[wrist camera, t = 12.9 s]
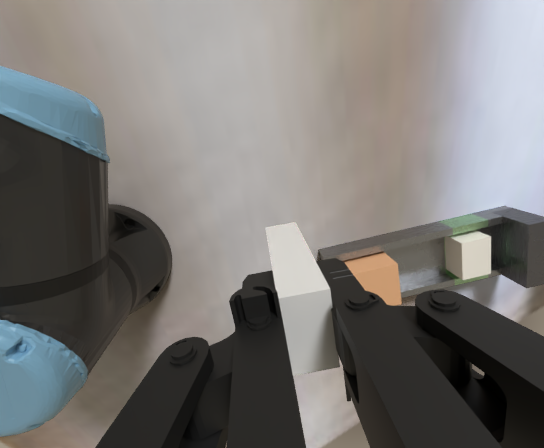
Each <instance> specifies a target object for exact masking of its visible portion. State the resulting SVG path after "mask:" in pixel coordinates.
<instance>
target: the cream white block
mask: <svg viewBox="0 0 544 448" xmlns="http://www.w3.org/2000/svg"><path fill="white" fill-rule="evenodd" d="M445 255H446V269H447V270H448V271H450V272H451V273H453V274H454V275H456V276H457V277H459V278H460V279H462V280H466V279H470V278H475V277H479V276H483V275H487V274H491V236H489V235H486V234H484V233H481V232H479V231H477V230H471V231H467V232H463V233H459V234H454V235H450V236H446V237H445Z"/></svg>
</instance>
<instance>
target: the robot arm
mask: <svg viewBox="0 0 544 448" xmlns="http://www.w3.org/2000/svg"><path fill="white" fill-rule="evenodd" d="M108 163H110V159H109V157H108V155H107V152H106V142H105V129H104V120H103V116H102V114H101V112H100V110H99V109H98V107H97V106H96V105H95V104H94V103H93V102H92V101H90V100H89V99H88V98H86V97H84V96H83V95H81V94H79V93H77V92H75V91H72V90H70V89H67V88H65V87H62V86H60V85H57V84H54V83H51V82H48V81H45V80H43V79H40V78H37V77H34V76H31V75H28V74H25V73H22V72H18V71H15V70H12V69H9V68H6V67H2V66H0V437H3V436H11V435H16V434H21V433H24V432H27V431H30V430H33V429H35V428H37V427H39V426H41V425H43V424H44V423H45V422H46V421H49V420H51V419H52V418H54V417H55V416H56V415H57V414H58V413H59V412H60V411H61V410H62V409H63V408H64V407H65V405H66V404H67V403H68V402H69V401H70V399H71V398H72V397H73V396H74V395H75V394H76V392H77V391H78V390H79V389H80V388H82V386H83V385H84V383H85V382H86V379H87V378H88V377H87V376H88V374H89V373H90V371H91V370H92V368H93V367H94V365H95V364H96V363H97V361H98V360H99V358H100V357H101V355H102V354H103V352H104V351H105V349H106V348H107V346H108V345H109V343H110V342H111V340H112V339H113V337H114V336H115V334H116V333H117V331H118V330H119V328H120V327H121V325H122V324H123V322H124V321H125V319H126V318H127V316H128V315H129V314H131V313H132V312H134V311H136V310H138V309H139V308H141V307H143V306H144V305H146V304H148V303H149V302H150V301H152V300H153V299H154V298H155V297H156V296H157V295H158V294H159V292H160V291H161V290H162V288H163V286H164V284H165V283H166V281H167V279H168V277H169V275H170V271H171V266H172V255H171V249H170V246H169V243H168V241H167V239H166V237H165V235H164V233H163V232H162V231H161V229H160V228H159V227H158V226H157V225H156V224H155V223H154V222H153V221H152V220H151V219H150V218H148V217H147V216H145V215H144V214H142V213H140V212H139V211H136V210H134V209H132V208H129V207H125V206H121V205H113V204H108ZM266 234H267V240H268V247H269V253H270V259H271V265H272V271H267V272H262V273H256V274H251V275H248V276H247V277H246V279H245V280H244V281H243V286H242V289H240V290H238V291H237V292H235V293H234V294H233V295H232V296H231V298H230V301H229V302H230V307H231V311H232V315H233V319H234V323H235V332H234V333H233V334H232V335H230V336H229V337H228V338H226V339H224V340H222V341H220V342H218V343H215V344H213V345H211V346H209V345H208V342H207V341H206V340H204V339H203V338H199V337H190V338H185V339H182V340H179V341H177V342H175V343H174V344H172V345H171V346H169V347H168V348H166V349H165V350H164V351H163V353H162V354H161V355H160V356H159V357H158V359H157V360H156V362H155V363H154V365H153V366H152V367H151V369H150V370H149V372H148V373H147V375H146V376H145V377H144V379H143V380H142V382H141V383H140V385H139V386H138V387H137V389H136V390H135V392H134V393H133V395H132V396H131V397H130V399H129V400H128V402H127V403H126V405H125V406H124V407H123V409H122V410H121V412H120V413H119V415H118V416H117V417H116V419H115V420H114V422H113V423H112V425H111V426H110V427H109V429H108V430H107V432H106V433H105V435H104V436H103V437H102V439H101V440H100V442H99V443H98V445H97V446H96V447H95V448H225V446H226V442H227V448H306V445H305V439H304V434H303V428H302V423H301V417H300V412H299V406H298V401H297V395H296V390H295V384H294V379H293V376H296V375H301V374H306V373H311V372H316V371H321V370H326V369H332V368H337V367H340V364H339V357H340V360H341V362H342V365H343V370H344V379H345V387H346V395H347V401H351V398H352V401H353V404H354V406H355V409H356V411H357V414H358V417H359V419H360V422H361V424H362V427H363V430H364V432H365V435H366V437H367V440H368V443H369V445H370V448H544V337H543V336H542V335H540V334H538V333H536V332H533V331H532V330H530V329H528V328H526V327H524V326H522V325H520V324H518V323H516V322H514V321H512V320H510V319H508V318H506V317H505V316H503V315H501V314H499V313H497V312H495V311H493V310H491V309H489V308H487V307H485V306H483V305H481V304H479V303H477V302H475V301H473V300H471V299H469V298H467V297H465V296H463V295H461V294H458V293H456V292H452V291H446V290H430V291H425V292H423V293H421V294H419V295H418V296H417V298H416V300H415V306H392V305H387V304H386V303H385V301H384V300H383V299H382V298H381V297H380V296H378V295H377V294H375V293H372V292H369V291H365V290H364V288H363V287H362V285H361V284H360V283H359V281H358V280H357V279H356V277H355V276H354V275H353V273H352V272H351V271H350V270H349V268H348V267H347V265H346V264H345V263H344V262H343V261H341V260H339V259H337V258H331V259H326V260H321V261H315V259H314V257H313V255H312V253H311V251H310V249H309V247H308V245H307V243H306V242H305V240H304V238H303V236H302V234H301V232H300V230H299V228H298V226H297V224H296V222H293V223H287V224H282V225H277V226H271V227H266ZM338 355H339V356H338ZM472 364H474V365H475V366H476V367H478V368H479V369H481V370H482V371H483V372H485V375H484V376H482V375H481V374H479V373H477V372H476V371H474V370H473V369H472Z"/></svg>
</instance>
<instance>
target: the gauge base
mask: <svg viewBox="0 0 544 448" xmlns="http://www.w3.org/2000/svg"><path fill="white" fill-rule="evenodd" d="M471 230H477V231H479V232H481V233H484V234H486V235H489V236H491V274H487V275H483V276H479V277H475V278H470V279H466V280H462V279H460V278H459V277H457V276H456V275H454V274H453V273H451V272H450V271H448V270H447V269H446V255H445V237H446V236H450V235H454V234H459V233H463V232H467V231H471ZM382 251H384V252H385V253H386V254H387V255H388V256H389V257H390V258H392V259H393V260H394V261H395V262H396V263H397V264H398V271H399V281H400V291H401V298H404V297H408V296H412V295H416V294H421V293H423V292H425V291H430V290H438V289H442V288H446V287H450V286H455V285H459V284H463V283H467V282H472V281H476V280H480V279H484V278H489V277H493V276H497V275H501V274H502V275H504V276H505V277H507V278H509V279H511V280H513V281H514V282H516V283H518V284H520V285H522V286H523V287H525V288H529V287H534V286H538V285H542V284H544V217H543V216H539V215H536V214H532V213H528V212H525V211H521V210H517V209H514V208H510V207H507V206H502V207H498V208H494V209H489V210H485V211H481V212H477V213H472V214H468V215H464V216H460V217H455V218H451V219H447V220H443V221H438V222H434V223H430V224H426V225H421V226H417V227H413V228H409V229H404V230H400V231H396V232H391V233H387V234H383V235H379V236H374V237H370V238H366V239H362V240H357V241H353V242H349V243H345V244H340V245H336V246H332V247H328V248H323V249H319V254H320V259H321V260H326V259H331V258H337V259H339V260H341V261H344V260H348V259H352V258H356V257H361V256H365V255H369V254H374V253H378V252H382Z"/></svg>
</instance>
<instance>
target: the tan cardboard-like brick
mask: <svg viewBox="0 0 544 448" xmlns="http://www.w3.org/2000/svg"><path fill="white" fill-rule="evenodd" d="M343 262H344V263H345V264H346V265H347V267H348V268H349V270H350V271H351V272H352V273H353V275H354V276H355V277H356V279H357V280H358V281H359V283H360V284H361V285H362V287H363V288H364V290H365V291H369V292H372V293H375V294H377V295H378V296H380V297H381V298H382V299H383V300H384V301H385V303H386V304H387V305H392V306H396V305H400V304H402V301H401V291H400V281H399V271H398V264H397V263H396V262H395V261H394V260H393V259H392V258H390V257H389V256H388V255H387V254H386V253H385V252H384V251H382V252H378V253H374V254H369V255H365V256H361V257H356V258H352V259H348V260H344V261H343Z"/></svg>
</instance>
